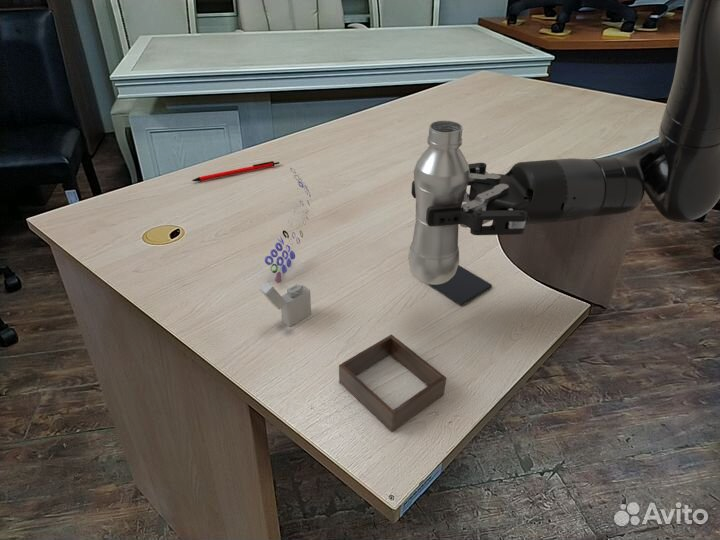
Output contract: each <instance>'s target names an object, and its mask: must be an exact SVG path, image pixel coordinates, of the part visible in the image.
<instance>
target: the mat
mask: <svg viewBox="0 0 720 540" xmlns="http://www.w3.org/2000/svg"><path fill="white" fill-rule="evenodd" d="M427 285H428V286H430V287H431V288H433V289H434V290H436V291H437V292H439V293H441V295H444V296H445V297H446V298H448V299H450V300H451V301H453V303H456V304H457V305H459V306H460V307H462V306H464V305H466V304H467V303H469V302H471V301H472V300H474V299H476V298H477V297H479V296H480V295H482V294H484V293H485V292H488V291H489V290H490V289H492V288H493V284H491V283H490V282H488V281H487V280H485V279H483V278H481V277H480V276H478V275H476V274H475V273H473V272H471V271H469V270H468V269H466V268H464V267H463V266H461V265H460V264H459V265H458V268H457V271H456V273H455V275H454V276H453V277H452V278H451V279H450V280H449V281H447V282H445V283H442V284H437V285H432V284H427Z"/></svg>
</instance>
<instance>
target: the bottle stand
mask: <svg viewBox="0 0 720 540" xmlns="http://www.w3.org/2000/svg"><path fill="white" fill-rule="evenodd" d="M390 355H391V356H392V357H393V358H394V359H395V360H396V361H397V362H398V363H400V364H401V365H402V366H403V367H405V368H406V369H407V370H409V371H410V372H411V373H412V374H413V375H414V376H416V377H417V378H418V379H419V380H421V381H422V382H423V383H424V384H425V385H427V386H426V387H424V388H423V389H422V390H420V391H419V392H417V393H416V394H414V395H413V396H411V397H410V398H409V399H407V400H405V401H404V402H402V403H401V404H400V405H398V406H396V407H395V408H394V409H393V408H391V406H390V405H388V404H387V403H386V401H384V400H383V399H381V398H380V397H379V396H378V395H377V394H376V393H375V392H374V391H373V390H372V389H371V388H369V386H368V385H366V384H365V383H364V381H362V380H361V379H360V378H359V377H357V375H359V374H361V373H362V372H364V371H366V370H367V369H370V367H372V366H373V365H374V366H375V364H377V363H379V362H380V361H382V360H384V359H386V358H387V357H389V356H390ZM446 382H447V377H446V376H445V375H444V374H443V373H442V372H440V371H439V370H438V369H436V368H435V367H434V366H432V365H431V364H430V363H429V362H428V361H426V360H425V359H424V358H423V357H421V356H420V355H418V354H417V353H416V352H415V351H414V350H413V349H411V348H410V347H408V346H407V345H406V344H405V343H404V342H402V341H401V340H400V339H398V338H397V337H395V335H393V334H389V335H388V336H386V337H383V338H382V339H381V340H379V341H378V342H376V343H374V344H372V345H370V346H369V347H367V348H366V349H364V350H362V351H361V352H360V351H359V353H357V354H355V355H354V356H352V357H350V358H349V359H347V360H345V361H344V362H342V363H340V364H339V365H338V383H340V385H342V386H343V387H344V388H345V389H346V390H347V391H348V392H349V393H350V394H351V395H352V396H353V397H354V398H355V399H356V400H357V401H358V402H359V403H360V404H362V406H364V407H365V408H366V409H367V411H369V412H370V413H371V414H372V415H373V416H374V417H375V418H376V419H377V420H378V421H379V422H380V423H381V424H382V425H383V426H384V427H385V428H387V430H389V432H391V433H393V432H394V431H396V430H397V429H398V428H400V427H401V426H402V425H403V424H405V423H406V422H408V421H410V420H411V419H412V418H413V417H415V416H416V415H418V414H419V413H420V412H422V411H423V410H424V409H426V408H427V407H429V406H431V404H433V403H434V402H436V401H437V400H438V399H440V398H442V396H444V395H445V391H446Z"/></svg>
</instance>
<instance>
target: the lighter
mask: <svg viewBox="0 0 720 540" xmlns="http://www.w3.org/2000/svg"><path fill="white" fill-rule="evenodd" d="M259 291H260V292H261V293H262V294H263V295H264V297H265V298H266V299H267V300H268V301H269V302H270V304H271V305H272V306H274V307H275V308H276V309H277V310H279V311H280V313H281V322H282V323H283V324H284V325H285V326H287V327H288V328H289V327H292V326H294V325H296V324H297V323H299V322H301V321H302V320H305V319H306V318H308V317H309V316H311V315H312V301H311V300H312V299H311V289H310V288H308V287H307V286H306V285H300V284H294V285H293V286H290V287H289V288H287V289H286V292H287V293H285V294H282V295H281V294H280V293H279V291H277V289H276V288H275V287H274V286H273V285H271V283H269V282H267V281H265V282H264V283H263V285H261V286H260V287H259Z"/></svg>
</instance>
